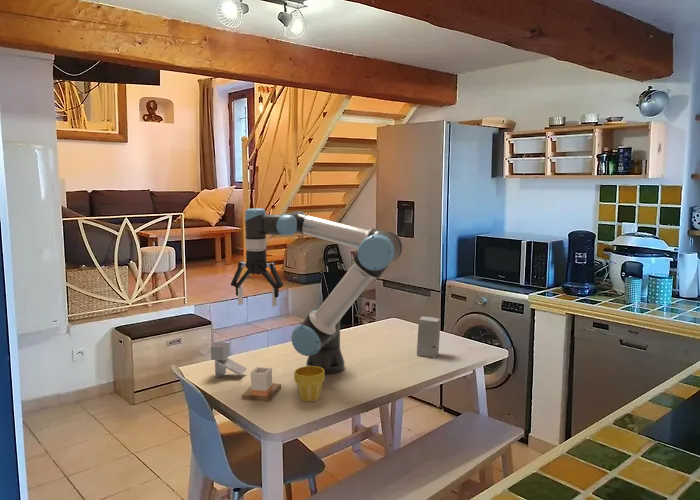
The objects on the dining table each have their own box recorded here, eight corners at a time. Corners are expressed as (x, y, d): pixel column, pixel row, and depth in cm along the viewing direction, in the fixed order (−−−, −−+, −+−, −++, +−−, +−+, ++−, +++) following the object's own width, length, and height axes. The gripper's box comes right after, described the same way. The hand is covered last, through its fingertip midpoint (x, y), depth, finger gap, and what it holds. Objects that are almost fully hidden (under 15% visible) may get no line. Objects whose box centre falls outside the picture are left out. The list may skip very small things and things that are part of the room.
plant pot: (294, 392, 196) (294, 365, 195) (324, 391, 197) (324, 364, 196) (294, 404, 186) (294, 376, 185) (325, 403, 187) (325, 375, 186)
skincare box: (416, 355, 235) (417, 319, 233) (420, 350, 241) (421, 315, 239) (436, 358, 232) (437, 321, 230) (440, 353, 238) (440, 317, 236)
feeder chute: (246, 374, 214) (246, 343, 212) (240, 379, 208) (239, 348, 207) (218, 371, 216) (217, 342, 215) (211, 377, 211) (210, 346, 209)
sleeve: (266, 396, 189) (266, 373, 188) (251, 395, 190) (250, 372, 189) (272, 390, 195) (271, 368, 193) (257, 388, 196) (256, 367, 195)
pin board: (281, 387, 200) (280, 370, 200) (269, 401, 189) (269, 382, 188) (254, 385, 202) (254, 368, 202) (242, 398, 191) (241, 380, 190)
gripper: (290, 249, 211) (291, 304, 214) (229, 247, 215) (230, 301, 218) (284, 252, 203) (285, 308, 206) (220, 250, 208) (222, 305, 211)
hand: (257, 304), depth 212 cm, fingers open, 13 cm apart
